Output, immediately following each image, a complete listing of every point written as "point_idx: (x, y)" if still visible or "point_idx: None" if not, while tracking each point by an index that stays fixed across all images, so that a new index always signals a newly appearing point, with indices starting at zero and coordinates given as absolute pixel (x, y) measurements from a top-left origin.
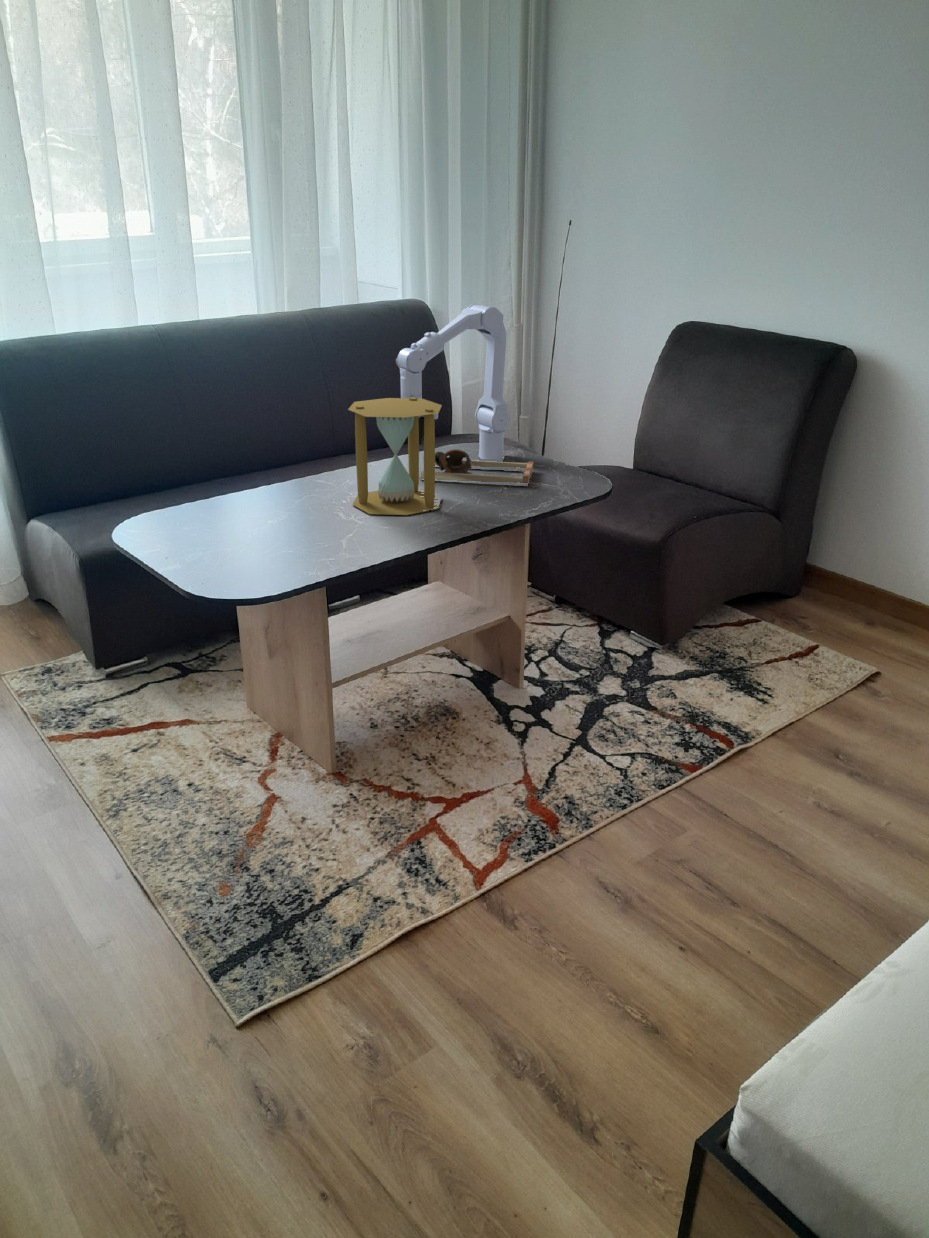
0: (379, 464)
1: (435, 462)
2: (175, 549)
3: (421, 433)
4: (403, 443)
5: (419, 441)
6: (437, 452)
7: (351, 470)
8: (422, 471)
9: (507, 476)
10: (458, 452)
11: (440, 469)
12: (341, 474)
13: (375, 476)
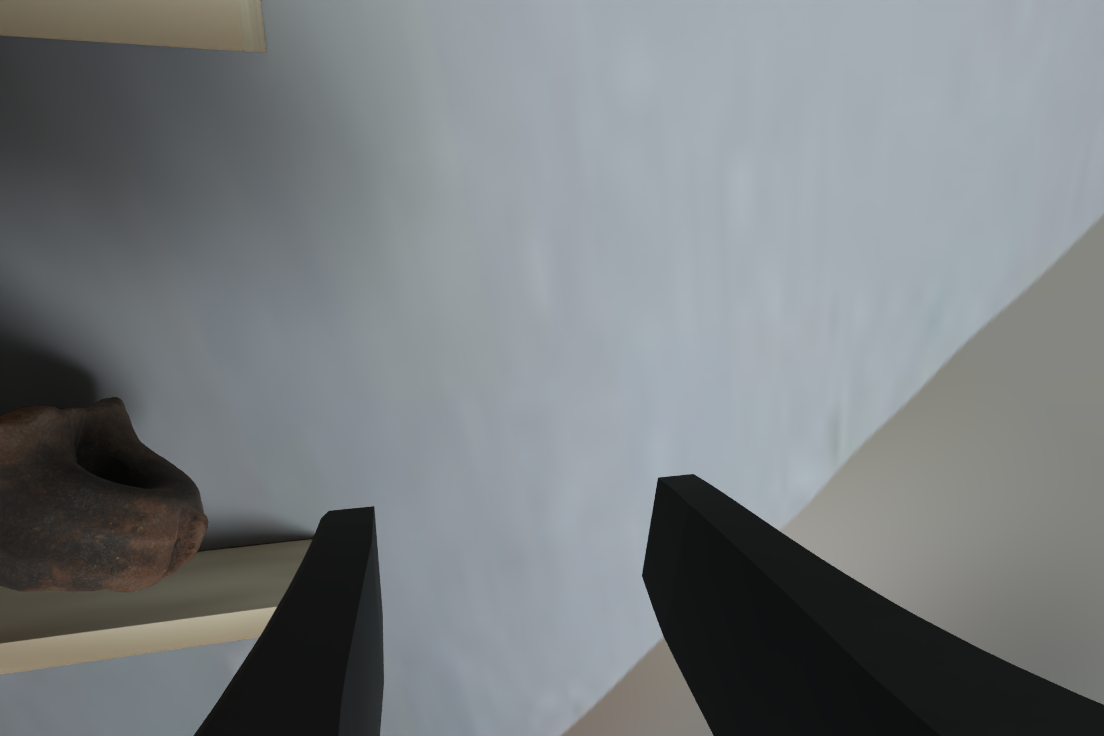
0: (770, 491)
1: (266, 580)
2: None
3: (242, 709)
4: (665, 482)
5: (346, 545)
6: (91, 557)
7: (986, 285)
8: (221, 35)
9: None
10: None
11: (120, 403)
12: (1082, 145)
13: (806, 131)
